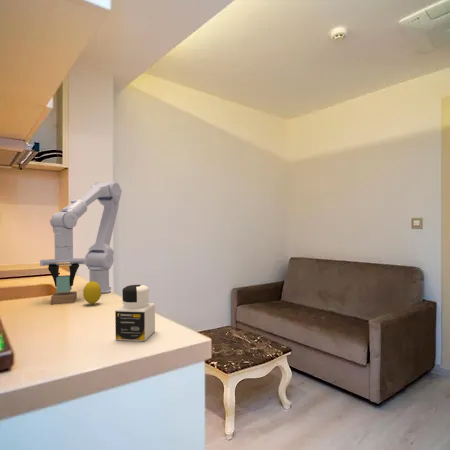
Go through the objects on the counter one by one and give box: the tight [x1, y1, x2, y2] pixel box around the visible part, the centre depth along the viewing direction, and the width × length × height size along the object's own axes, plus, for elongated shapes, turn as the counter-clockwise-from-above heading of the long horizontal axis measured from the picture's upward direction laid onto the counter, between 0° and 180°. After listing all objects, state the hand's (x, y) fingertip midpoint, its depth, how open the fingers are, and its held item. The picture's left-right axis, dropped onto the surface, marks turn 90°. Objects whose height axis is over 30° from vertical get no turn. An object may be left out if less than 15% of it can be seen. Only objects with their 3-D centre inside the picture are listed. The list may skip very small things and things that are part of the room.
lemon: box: [82, 281, 102, 306], centre depth 110 cm, size 6×6×8 cm
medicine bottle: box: [114, 284, 156, 342], centre depth 79 cm, size 7×7×12 cm
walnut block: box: [50, 290, 78, 306], centre depth 115 cm, size 7×7×3 cm
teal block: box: [55, 274, 73, 293], centre depth 114 cm, size 4×4×5 cm
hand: (64, 285), depth 115 cm, fingers closed on teal block, 4 cm apart
